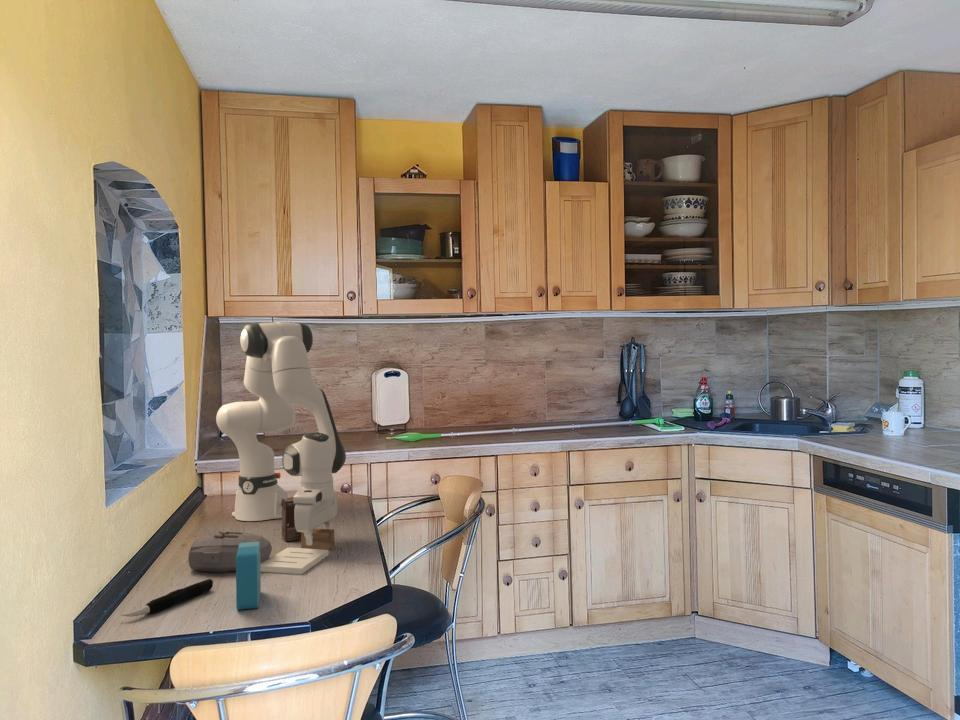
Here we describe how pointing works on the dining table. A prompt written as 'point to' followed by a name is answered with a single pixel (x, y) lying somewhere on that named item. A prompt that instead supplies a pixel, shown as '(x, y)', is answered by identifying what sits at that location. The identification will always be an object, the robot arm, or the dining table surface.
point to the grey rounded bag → (223, 551)
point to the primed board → (293, 560)
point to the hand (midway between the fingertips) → (317, 540)
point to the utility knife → (173, 598)
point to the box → (289, 521)
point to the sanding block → (320, 539)
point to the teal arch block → (248, 576)
